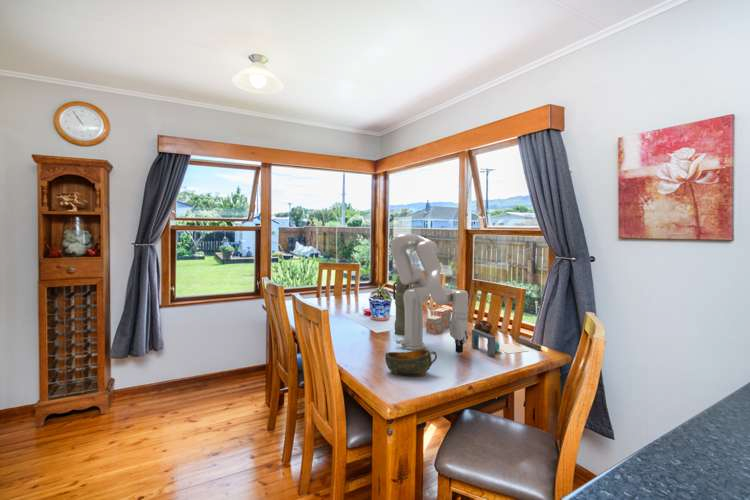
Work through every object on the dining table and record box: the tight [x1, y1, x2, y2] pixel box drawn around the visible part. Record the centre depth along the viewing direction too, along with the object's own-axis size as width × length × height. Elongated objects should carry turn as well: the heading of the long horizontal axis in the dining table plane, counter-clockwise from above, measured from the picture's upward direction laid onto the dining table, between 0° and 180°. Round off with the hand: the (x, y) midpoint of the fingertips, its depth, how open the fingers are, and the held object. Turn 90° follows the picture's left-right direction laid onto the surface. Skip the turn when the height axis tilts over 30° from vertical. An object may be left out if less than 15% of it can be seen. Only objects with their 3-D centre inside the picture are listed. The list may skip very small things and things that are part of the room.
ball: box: [486, 340, 500, 353], centre depth 187 cm, size 6×6×6 cm
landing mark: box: [498, 343, 529, 355], centre depth 193 cm, size 13×13×1 cm
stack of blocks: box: [425, 307, 452, 335], centre depth 228 cm, size 21×6×12 cm, turn 144°
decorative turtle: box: [473, 320, 493, 334], centre depth 220 cm, size 10×15×8 cm, turn 139°
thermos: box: [392, 274, 411, 336], centre depth 220 cm, size 9×12×35 cm
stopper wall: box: [515, 336, 542, 352], centre depth 197 cm, size 2×16×2 cm, turn 21°
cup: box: [384, 348, 438, 378], centre depth 158 cm, size 13×20×10 cm, turn 56°
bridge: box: [471, 328, 496, 358], centre depth 187 cm, size 3×15×10 cm, turn 20°
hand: (459, 352), depth 182 cm, fingers closed
